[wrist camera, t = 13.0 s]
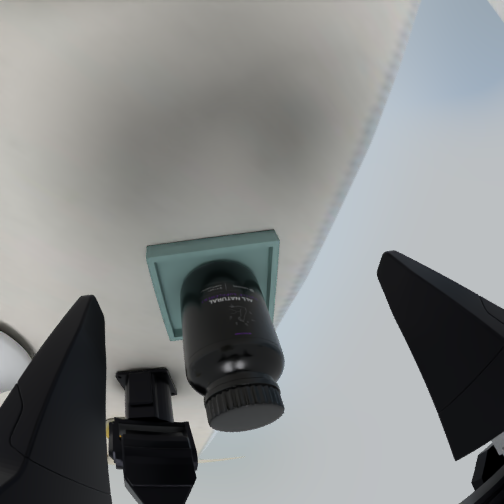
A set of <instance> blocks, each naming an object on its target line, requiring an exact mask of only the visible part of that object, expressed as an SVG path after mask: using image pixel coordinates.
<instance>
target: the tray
mask: <svg viewBox="0 0 504 504" xmlns="http://www.w3.org/2000/svg"><path fill="white" fill-rule="evenodd" d="M279 244H280V240H279V238H278V236H277V234H276V232H275V231H274V230H268V231H260V232H252V233H243V234H235V235H227V236H220V237H212V238H204V239H197V240H189V241H182V242H174V243H167V244H160V245H152V246H147V252H146V260H147V264H148V268H149V272H150V276H151V279H152V283H153V286H154V290H155V293H156V297H157V300H158V304H159V307H160V310H161V314H162V317H163V320H164V323H165V327H166V330H167V333H168V336H169V339H170V341H176V340H183V337H182V324H181V308H180V291H181V287H182V284H183V282H184V281H185V279H186V278H187V277H188V276H189V275H190V274H191V273H192V272H193V271H194V270H196V269H197V268H199V267H201V266H203V265H206V264H209V263H213V262H221V261H225V262H233V263H237V264H240V265H242V266H244V267H246V268H247V269H249V270H250V271H251V272H252V273H253V274H254V275H255V277H256V279H257V281H258V283H259V286H260V288H261V291H262V294H263V297H264V300H265V303H266V306H267V309H268V311H269V314H270V317H271V320H272V323H273V316H274V305H275V294H276V282H277V269H278V257H279Z"/></svg>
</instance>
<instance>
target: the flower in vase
mask: <svg viewBox="0 0 504 504" xmlns="http://www.w3.org/2000/svg"><path fill="white" fill-rule="evenodd" d="M31 361H32V359H31V357H30V356H29V354H28V353H27V352H26V351H25V350H24V348H23V347H22V346H21V345H19V344H18V343H17V342H16V341H15V340H13V339H12V338H11V337H9V336H8V335H6V334H5V333H3V332H2V331H0V393H2V392H6V391H10V390H12V389H13V387H14V386H15V384H16V383H18V380H19V378H20V377H21V375H22V374H23V372H24V371H25V369H26V368H27V366H28V365H29V363H30V362H31Z"/></svg>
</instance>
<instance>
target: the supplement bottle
mask: <svg viewBox="0 0 504 504" xmlns="http://www.w3.org/2000/svg"><path fill="white" fill-rule="evenodd" d="M180 308H181V324H182V337H183V349H184V360H185V370H186V376H187V380H188V382H189V384H190V385H191V386H192V388H193V389H194V390H195V391H196V392H198V393H199V394H200V395H202V396H204V405H205V408H206V412H207V418H208V423H209V425H210V427H212V428H213V429H215V430H219V431H224V432H240V431H247V430H252V429H257V428H260V427H263V426H265V425H268V424H270V423H272V422H274V421H275V420H277V419H279V417H281V416H282V414H283V413H284V405H283V402H282V399H281V396H280V389H279V386H278V384H277V383H276V382H277V381H278V379H279V378H280V376H281V374H282V372H283V369H284V362H285V361H284V355H283V352H282V349H281V346H280V343H279V340H278V338H277V335H276V332H275V329H274V326H273V323H272V320H271V317H270V314H269V311H268V309H267V306H266V303H265V300H264V297H263V294H262V291H261V288H260V286H259V283H258V281H257V279H256V277H255V275H254V274H253V273H252V272H251V271H250V270H249V269H247V268H246V267H244V266H242V265H240V264H237V263H233V262H225V261H221V262H213V263H209V264H206V265H203V266H201V267H199V268H197V269H196V270H194V271H193V272H192V273H191V274H190V275H189V276H188V277H187V278H186V279H185V281H184V282H183V284H182V287H181V291H180Z"/></svg>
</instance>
